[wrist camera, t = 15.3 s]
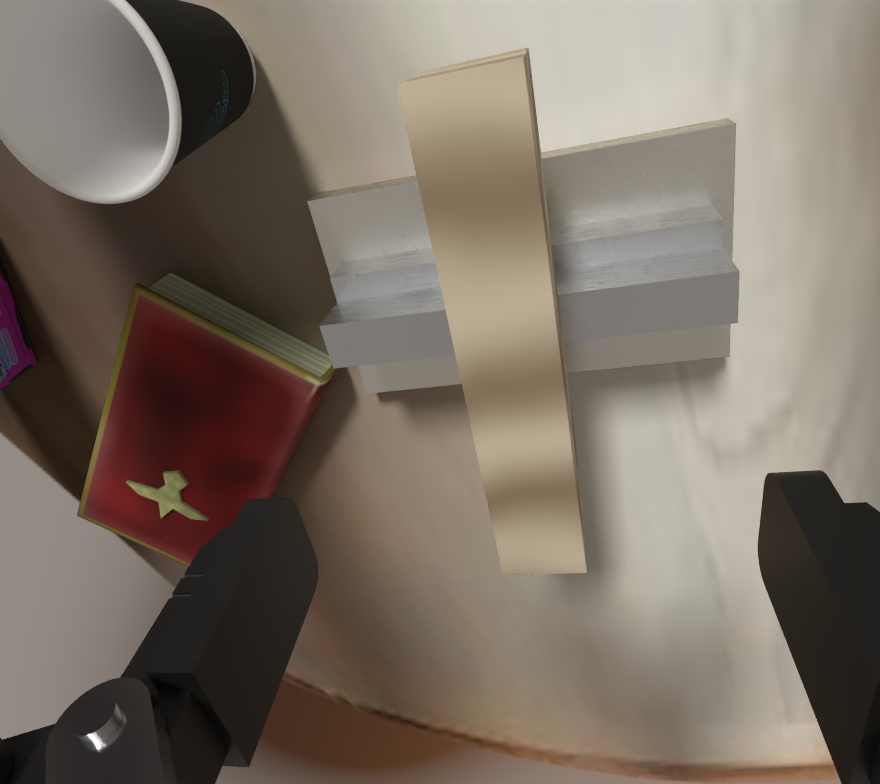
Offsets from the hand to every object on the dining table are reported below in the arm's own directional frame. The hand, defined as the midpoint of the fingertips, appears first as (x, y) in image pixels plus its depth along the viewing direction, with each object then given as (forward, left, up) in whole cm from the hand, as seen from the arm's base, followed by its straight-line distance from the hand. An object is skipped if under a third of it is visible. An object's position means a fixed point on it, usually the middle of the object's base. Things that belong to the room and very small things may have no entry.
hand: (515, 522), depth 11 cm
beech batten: (-1, -5, -18) cm, 19 cm away
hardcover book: (-25, -13, -26) cm, 38 cm away
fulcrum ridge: (-1, -5, -25) cm, 26 cm away
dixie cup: (-15, +8, -26) cm, 31 cm away
